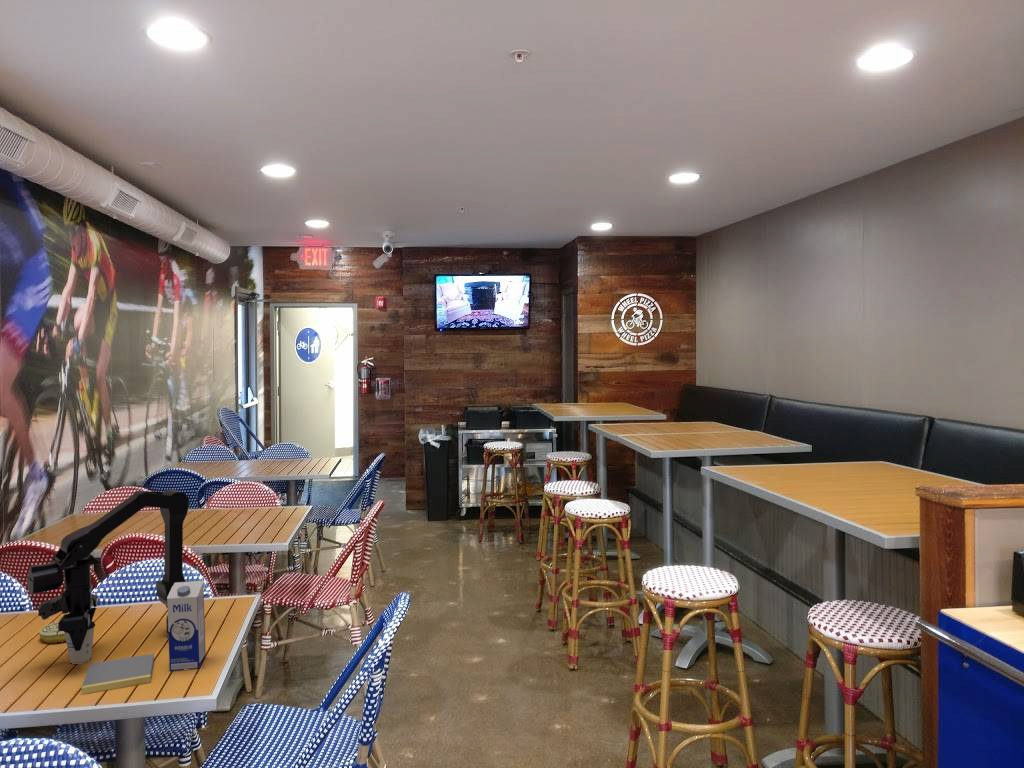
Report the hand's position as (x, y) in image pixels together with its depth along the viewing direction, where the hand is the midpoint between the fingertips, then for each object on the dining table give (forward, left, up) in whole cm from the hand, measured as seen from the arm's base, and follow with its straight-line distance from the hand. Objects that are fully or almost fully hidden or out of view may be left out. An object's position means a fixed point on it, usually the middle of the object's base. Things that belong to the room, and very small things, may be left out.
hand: (80, 645), depth 179 cm
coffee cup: (0, 0, -4) cm, 4 cm away
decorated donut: (+7, -20, -4) cm, 22 cm away
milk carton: (-25, +14, -4) cm, 29 cm away
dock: (-10, +14, -4) cm, 18 cm away
